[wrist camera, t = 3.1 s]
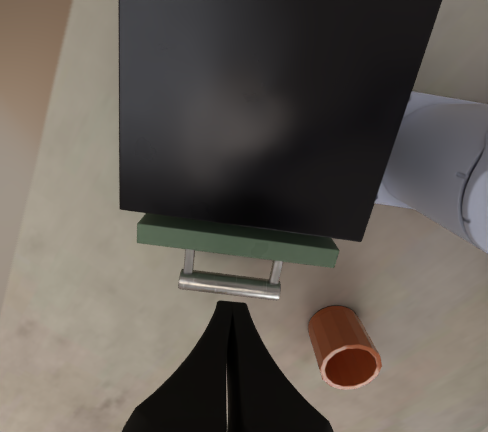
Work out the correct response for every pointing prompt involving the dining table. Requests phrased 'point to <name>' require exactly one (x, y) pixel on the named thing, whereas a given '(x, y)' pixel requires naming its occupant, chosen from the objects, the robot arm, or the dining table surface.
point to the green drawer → (234, 252)
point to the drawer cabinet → (265, 108)
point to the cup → (343, 348)
